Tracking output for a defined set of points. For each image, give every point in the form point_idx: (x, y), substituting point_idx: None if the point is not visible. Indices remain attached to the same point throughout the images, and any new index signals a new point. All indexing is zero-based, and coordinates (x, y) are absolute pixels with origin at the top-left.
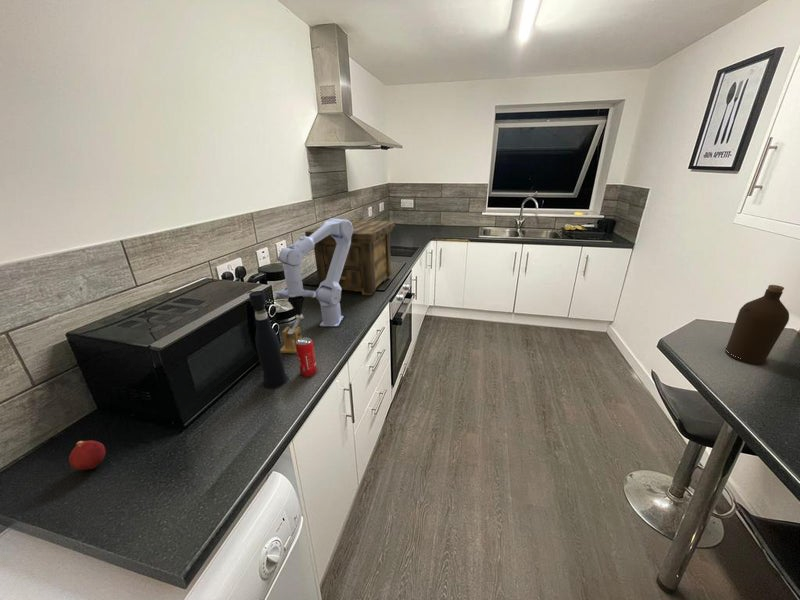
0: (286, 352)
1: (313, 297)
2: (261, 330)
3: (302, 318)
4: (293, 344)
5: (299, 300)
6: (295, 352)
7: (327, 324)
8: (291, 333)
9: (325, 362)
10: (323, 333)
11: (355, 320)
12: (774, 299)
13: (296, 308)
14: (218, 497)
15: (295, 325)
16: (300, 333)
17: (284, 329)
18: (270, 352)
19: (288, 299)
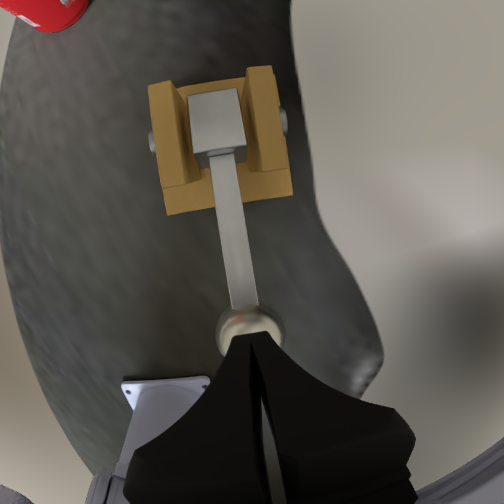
0: (231, 80)
1: (4, 486)
2: None
3: (217, 323)
4: None
5: (134, 467)
6: (179, 89)
7: (169, 387)
8: (199, 97)
9: (27, 87)
10: (147, 318)
11: (96, 424)
12: None
13: (261, 373)
14: None
15: (226, 212)
16: (154, 154)
17: (277, 108)
18: None
19: (402, 445)
